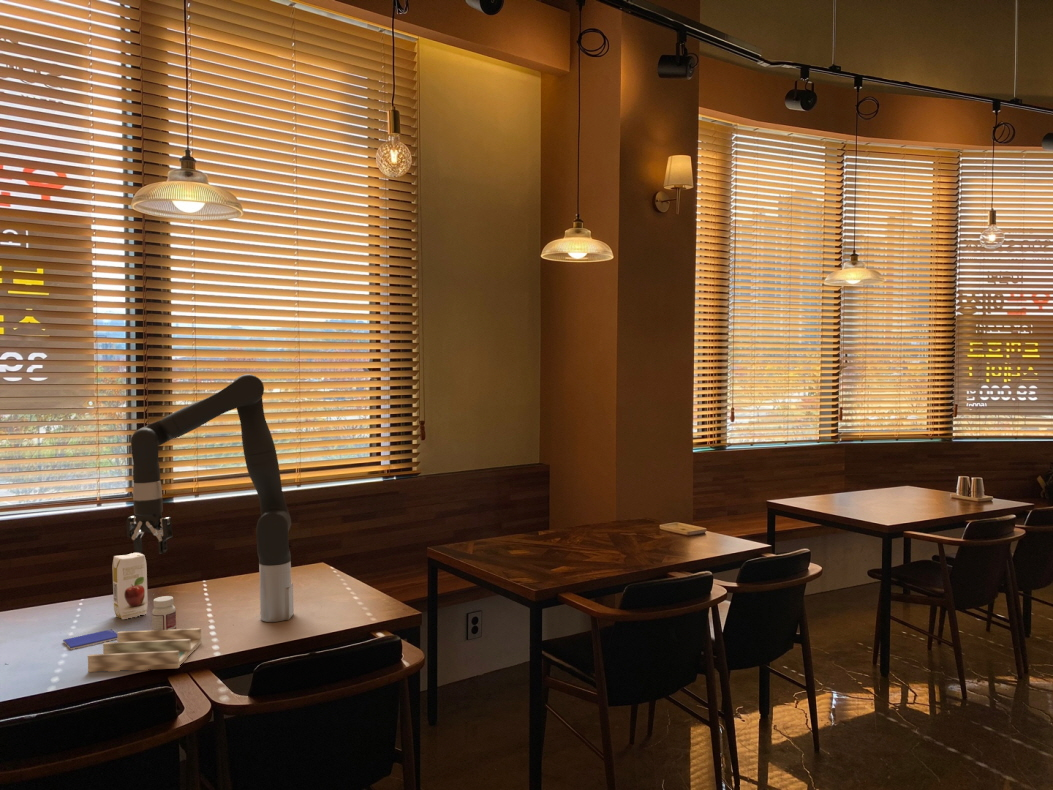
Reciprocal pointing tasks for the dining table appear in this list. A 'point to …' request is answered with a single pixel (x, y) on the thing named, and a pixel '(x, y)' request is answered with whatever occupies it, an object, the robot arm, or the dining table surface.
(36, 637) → the dining table surface
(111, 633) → the hard drive
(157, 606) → the pill bottle
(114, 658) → the slot rack
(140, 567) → the juice carton
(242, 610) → the dining table surface
